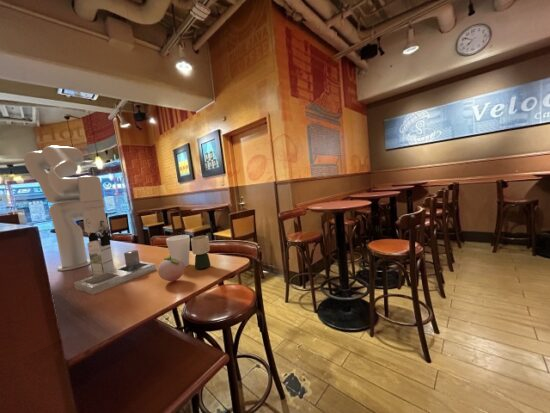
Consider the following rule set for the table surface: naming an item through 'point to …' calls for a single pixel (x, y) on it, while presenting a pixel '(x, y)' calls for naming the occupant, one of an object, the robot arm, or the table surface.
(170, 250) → the foam cup
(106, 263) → the syrup box
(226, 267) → the table surface
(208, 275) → the table surface
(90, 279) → the hole plate
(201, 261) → the character mug
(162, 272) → the decorative fruit
